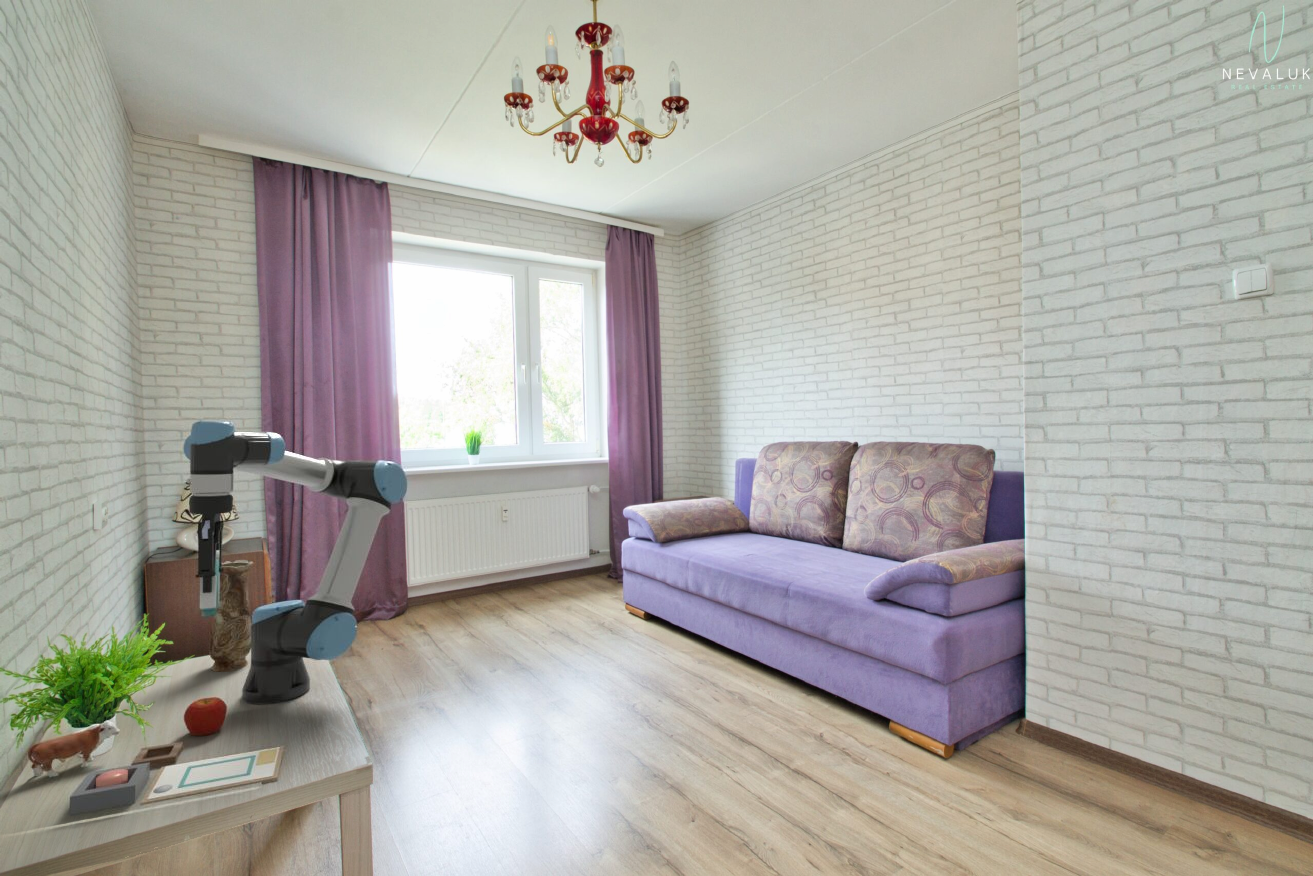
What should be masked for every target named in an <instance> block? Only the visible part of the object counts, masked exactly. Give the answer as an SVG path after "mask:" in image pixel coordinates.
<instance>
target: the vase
mask: <svg viewBox="0 0 1313 876" xmlns="http://www.w3.org/2000/svg"><path fill="white" fill-rule="evenodd" d="M221 563H222V566H221V567H220V568H224V571H222V572H220V585H219V604H218V608H216V615H215V616H212V618H213V619H212V622H211V623H212V624H211V628H210V633H209V641H208V651H209V656H210V658H211V660H212V661H214V662H213V665H212V666H211V670H212V671H215V672H229V671H234V670H238V669H241V668H245V667H246V666H247V665H248V664H249V663H248V661H247V656H248V655H249V654H250V653H251V623H252V616H251V611H250V602H249V601H250V600H249V590H248V573H249V571H250V569H251V568H252V566H253V565H254V562H253V561H252V560H251V561H248V560H247V559H238V560H237V559H236V560H235V561H232V562H231V561H229V560H227V561H225V562H221Z"/></svg>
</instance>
